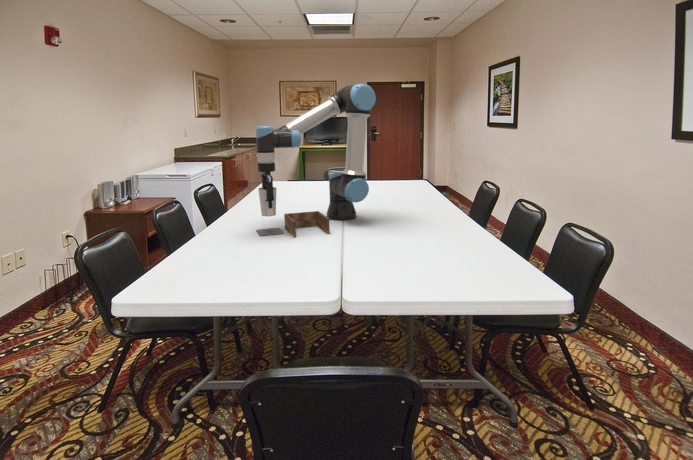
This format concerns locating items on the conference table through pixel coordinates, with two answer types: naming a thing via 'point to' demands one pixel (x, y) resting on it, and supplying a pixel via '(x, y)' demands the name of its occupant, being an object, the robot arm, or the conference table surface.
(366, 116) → the robot arm
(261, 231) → the mat
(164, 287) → the conference table surface
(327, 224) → the three-sided wooden box
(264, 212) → the cup
